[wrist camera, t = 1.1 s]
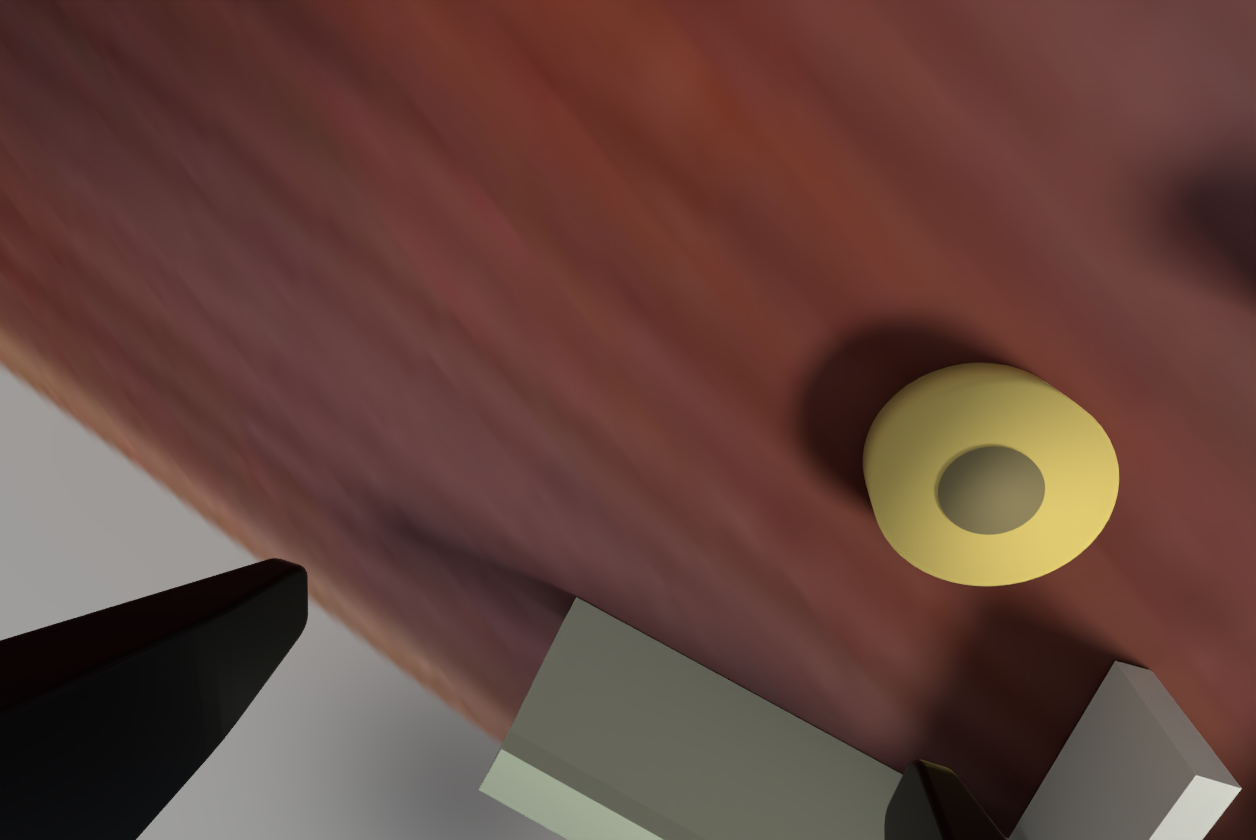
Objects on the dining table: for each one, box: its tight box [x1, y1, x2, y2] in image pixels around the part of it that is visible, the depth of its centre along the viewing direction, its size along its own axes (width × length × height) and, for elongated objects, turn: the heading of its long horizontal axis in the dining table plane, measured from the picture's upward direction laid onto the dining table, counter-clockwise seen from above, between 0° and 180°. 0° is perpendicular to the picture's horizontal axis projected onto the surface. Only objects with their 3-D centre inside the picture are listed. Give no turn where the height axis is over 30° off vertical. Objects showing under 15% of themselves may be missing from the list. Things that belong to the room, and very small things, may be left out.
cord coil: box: [863, 363, 1119, 586], centre depth 17 cm, size 6×6×2 cm
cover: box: [479, 597, 902, 840], centre depth 19 cm, size 15×2×7 cm, turn 65°
